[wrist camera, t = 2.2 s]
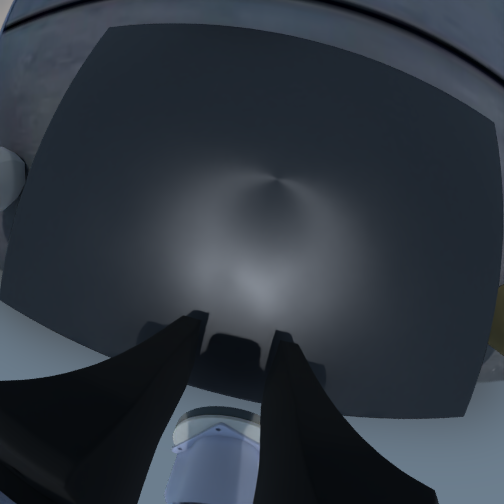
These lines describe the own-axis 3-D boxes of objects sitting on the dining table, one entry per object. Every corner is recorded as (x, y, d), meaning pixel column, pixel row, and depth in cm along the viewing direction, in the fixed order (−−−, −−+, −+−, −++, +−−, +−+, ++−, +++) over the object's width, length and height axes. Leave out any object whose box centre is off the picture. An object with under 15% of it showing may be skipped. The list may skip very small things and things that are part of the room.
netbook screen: (455, 411, 11) (464, 417, 10) (8, 299, 12) (-2, 299, 11) (487, 127, 13) (494, 122, 12) (113, 35, 14) (109, 26, 13)
